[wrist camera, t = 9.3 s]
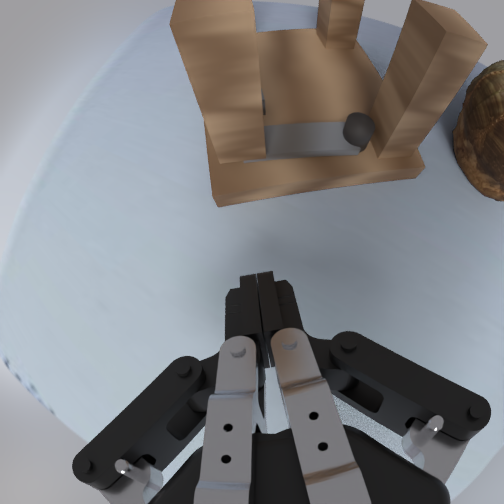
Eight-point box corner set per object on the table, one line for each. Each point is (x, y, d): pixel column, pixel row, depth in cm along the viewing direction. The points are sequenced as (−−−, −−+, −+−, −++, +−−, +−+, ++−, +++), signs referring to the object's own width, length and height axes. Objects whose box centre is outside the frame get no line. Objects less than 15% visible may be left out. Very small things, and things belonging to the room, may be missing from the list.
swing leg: (361, 125, 19) (407, -5, 7) (371, 158, 18) (437, 28, 7) (220, 134, 20) (177, -6, 8) (222, 169, 19) (169, 24, 7)
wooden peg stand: (345, 41, 24) (362, -60, 10) (415, 178, 20) (510, 62, 6) (201, 56, 25) (169, -52, 11) (218, 207, 21) (141, 59, 7)
